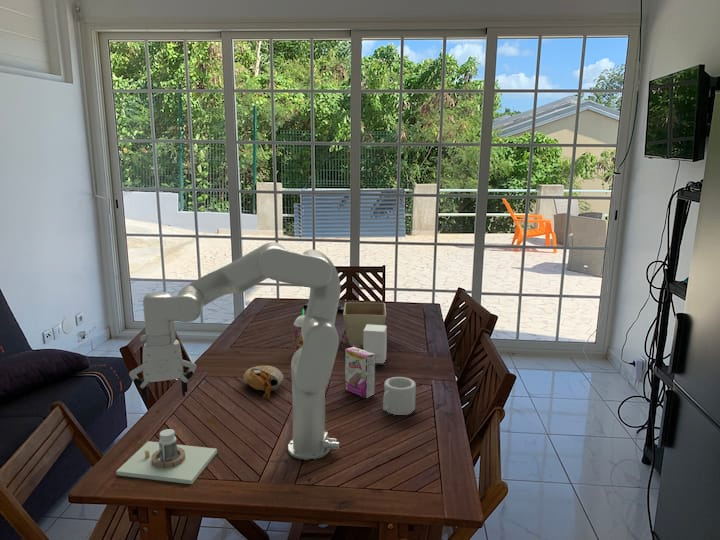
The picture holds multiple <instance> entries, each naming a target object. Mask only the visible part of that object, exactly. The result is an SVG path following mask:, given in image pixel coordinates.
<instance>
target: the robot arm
mask: <svg viewBox="0 0 720 540" xmlns="http://www.w3.org/2000/svg"><path fill="white" fill-rule="evenodd" d="M267 279H269V280H273V281H276V282H280V283H284V284H289V285H295V286H300V287H304V288H310V289H309V297H308V302H307V307H306V311H305V313H304V315H305V318H304V321H303V324H302V328H301V334H302V338H303V347H302V348H300V349H298V350H297V351H296V350H295V352H294V354H293V355H292V358H291V361H290V362H291V363H290V374H291V389H292V390H291V392H292V394H291V395H292V399H291V400H292V401H291V402H292V403H291V404H292V407H291V408H292V440H290V441H289V442H288V445H287V452H288V454H289V455H290V456H291V457H293V458H295V459H297V458H298V460H302V459H303V460H304V461H310V460H309V459H314V460H317V458H318V459H320V458H323V457H325V456H326V455H328V454H329V452H331V449H335V450H339V448H340V442H338V441H337V440H338V439H337V438H336V437H335V438H333V437H329V435H328V431H326V387H327V385H328V384H329V382H330V380H331V375H332V373H333V369H334V366H335V365H334V364H335V360H336V357H337V353H338V348H339V343H340V342H339V334H338V333H339V332H338V330H337V328H336V326H335V325H336V324H335V323H336V317H337V313H338V310H339V309H338V308H339V303H340V298H341V280H340V277H339V273H338V270H337V269H336V266H335V265H334V263H333V262H332V260H331V259H330V258H329V257H328V256H327V255H326V254H324V253H323V252H321V251H320V250H317V249H309V250H308V249H307V250H306V251H304V252H303V253H299V252H294V251H290V250H287V249H286V248H285V246H284V245H282V244H281V243H279V242H277V241H270V242H267V243H265V244H262V245H261V246H258V247H257V248H256V249H253V250H252V251H249V252H248V253H246V254H245V255H243V256H241V257H240V258H237V259H235V260H234V261H232V262H230V263H229V264H227V265H224V266H222V267H220V268H218V269H216V270H214V271H213V270H212V271H211V272H209V273H207V274H205V275H203V276H201V277H200V278H198V279H196V280H194V281H192V282H190V283H189V284H187V285H185V286H184V287H182V288H181V289H180V290H179V292H178V293H177V294H176V295H175V296H173V295H172V294H171V293H170V292H166V291H155V292H151V293H147V294H146V295H144V297H143V298H142V306H143V307H142V308H143V316H144V318H143V319H144V327H145V328H144V329H145V330H144V331H145V333H144V334H143V335H139V340H140V342H144V345H143V348H142V364H141V365H139V366H137V367H135V368H134V369H131V371H129V373H128V375H129V377H130V378H131V380H132V381H133V383H134V384H136V385H137V386H139V387H140V388H141V397H142V398H144V399H145V400H144V401H145V402H146V403H147V402H149V389H148V388H149V387H148V383H153V382H161V381H163V382H164V381H170V380H176V379H180V380H181V382H180V383H181V395H182V397H186V393H187V392H188V382H189V380H190V379H191V378H192V376H194V372H195V371H196V370H197V364H196V363H194V362H192V361H189V360H185V359H183V354H182V349H181V344H180V341H179V340H178V339H177V337H176V336H177V335H176V323H175V322H177V323H178V322H179V323H191V322H194V321H196V320H197V319H198V318H199V317H200V316H201V314H202V311H203V307H205V306H206V305H208V304H209V303H211V302H213V301H215V300H216V299H218V298H221V297H223V296H225V295H229V294H242V293H245V292H246V291H248V290H250V289H251V288H253V287H255V286H257V285H258V284H260V283H261V282H263V281H265V280H267ZM184 367H187V368H189V370H188V371H187V372H186V373H185V372H184ZM141 372H143V373H142V374H143V378H140V377H138V374H140V373H141ZM303 460H302V461H303Z"/></svg>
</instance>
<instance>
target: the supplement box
mask: <svg viewBox="0 0 720 540" xmlns="http://www.w3.org/2000/svg"><path fill="white" fill-rule="evenodd" d="M387 329H388V327H387V325H369V324H367V325H366V327H365V329H364V330H363V347H362V348H363V350H365V351H368V352H371V353H374V354H375V363H384V362H385V363H386V361H385V360H387V345H388V343H387V340H388V337H387V336H388V335H387V334H388V333H387V331H388V330H387Z"/></svg>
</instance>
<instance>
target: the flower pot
mask: <svg viewBox="0 0 720 540" xmlns="http://www.w3.org/2000/svg"><path fill="white" fill-rule="evenodd" d="M386 308H387V307H386V303H385V302H351V301H350V302H344V307H343V313H342V314H343V322H344V329H345V333H346V337H347V341H348V343H349V346H350V345H363V330H364V329H365V327H366V325H367V324H369V325H385V324H386V319H387V311H386V310H387V309H386Z"/></svg>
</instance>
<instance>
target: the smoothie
mask: <svg viewBox="0 0 720 540" xmlns="http://www.w3.org/2000/svg"><path fill="white" fill-rule="evenodd" d="M304 318H305V309H304V308H303V309H302V314H301V315H299V316H297V318H296V319H295V320H294V322H293V329H294V332H293V333H294V340H295V341H294V343H295V352H296V351H297V350H298V349H300V348H302V347H303V338H302V334H301V328H302V324H303V321H304Z"/></svg>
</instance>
